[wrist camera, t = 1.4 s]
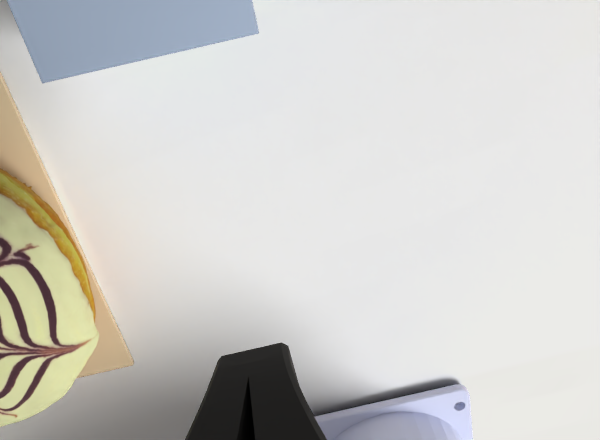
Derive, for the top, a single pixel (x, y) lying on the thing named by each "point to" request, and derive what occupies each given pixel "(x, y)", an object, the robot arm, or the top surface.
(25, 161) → the letter card
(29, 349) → the decorated donut
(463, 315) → the top surface
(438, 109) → the top surface
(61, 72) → the powder blue cube
